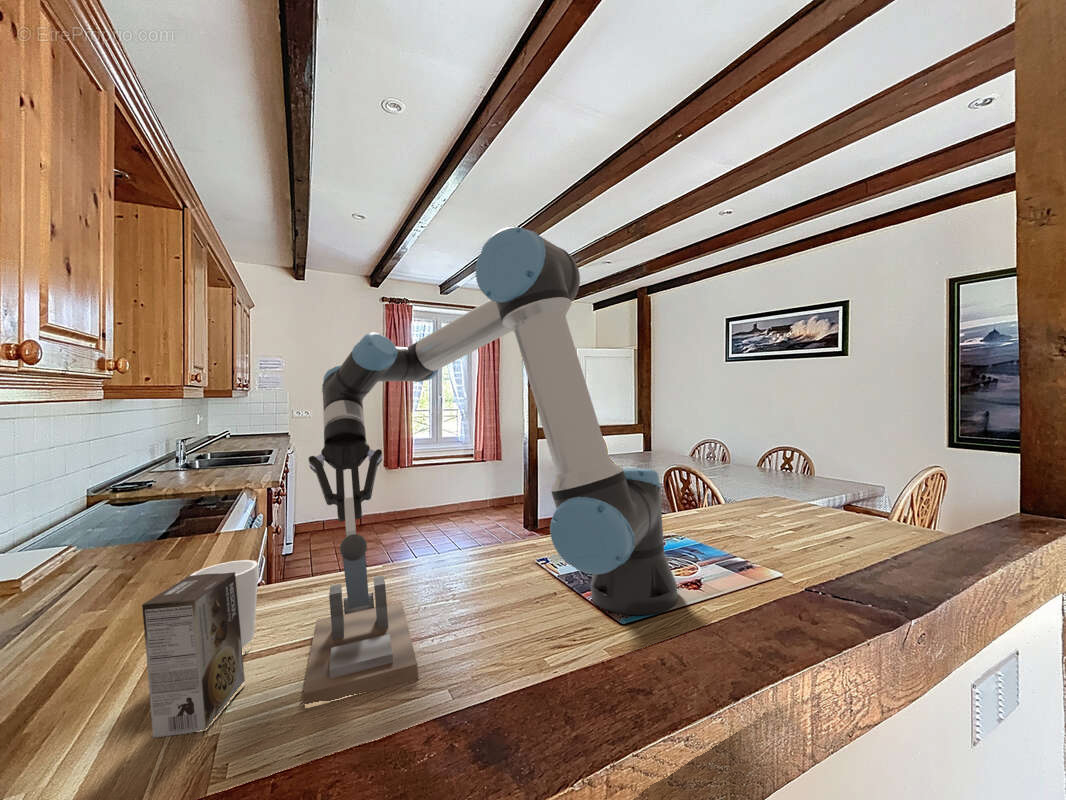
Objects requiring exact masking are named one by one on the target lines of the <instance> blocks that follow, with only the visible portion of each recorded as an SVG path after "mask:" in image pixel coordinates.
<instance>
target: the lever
mask: <svg viewBox="0 0 1066 800" xmlns="http://www.w3.org/2000/svg"><path fill="white" fill-rule="evenodd" d="M367 550H368V542H367V540H366V538H365V537H363V536H362V535H360V534H357V533H356V534H353V535H349V536H347V537H345V538H343V540H342V541H341V542H340V546H339V552H340V555H341V557H342V562H343V563H342V565H343V570H344V571H343V572H344V579H345V586H346V594H347V595H346V596H347V597H343V614H349V613H354V612H359V611H363V610H368V609H373V608H374V607H375V601H374V600H375V599H374V593H373V592H374V591H373V592H369V583H368V571H367V556H366V554H367V553H366V552H367Z"/></svg>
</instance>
